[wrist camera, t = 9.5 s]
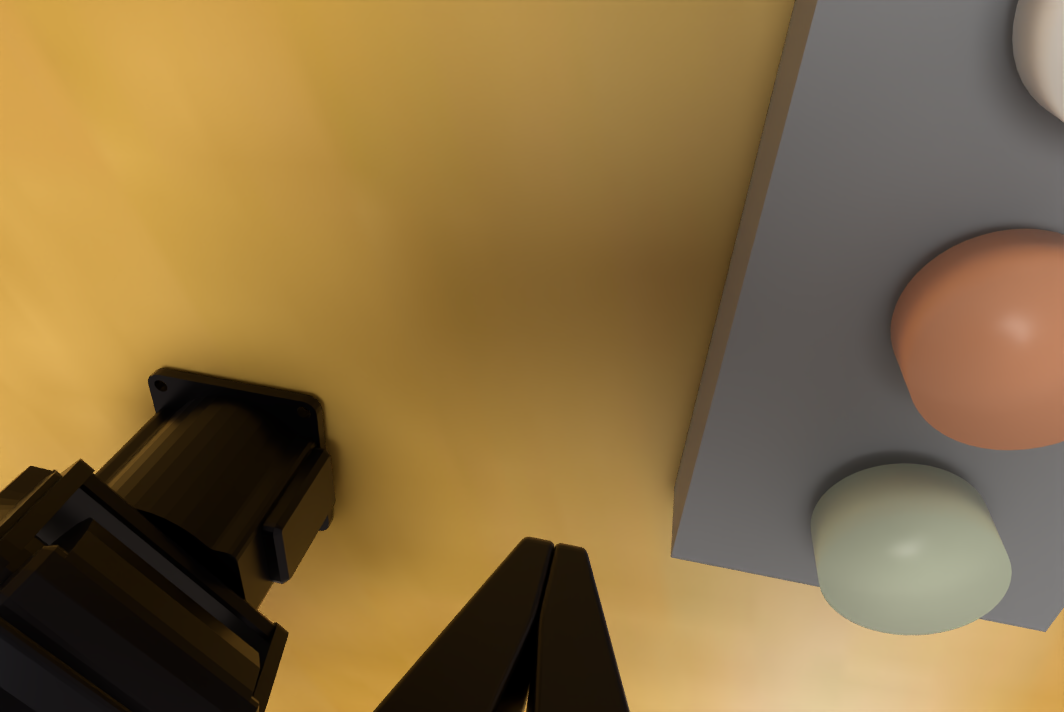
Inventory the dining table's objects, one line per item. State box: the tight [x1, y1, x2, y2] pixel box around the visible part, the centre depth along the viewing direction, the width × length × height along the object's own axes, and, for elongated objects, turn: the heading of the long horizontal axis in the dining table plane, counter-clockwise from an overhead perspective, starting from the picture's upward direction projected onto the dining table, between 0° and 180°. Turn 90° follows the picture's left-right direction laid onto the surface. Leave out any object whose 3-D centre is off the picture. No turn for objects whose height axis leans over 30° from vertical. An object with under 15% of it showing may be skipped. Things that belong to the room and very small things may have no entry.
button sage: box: [810, 463, 1012, 635], centre depth 20 cm, size 4×4×2 cm
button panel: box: [671, 0, 1064, 632], centre depth 18 cm, size 11×20×3 cm, turn 174°
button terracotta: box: [890, 229, 1064, 450], centre depth 16 cm, size 4×4×2 cm
